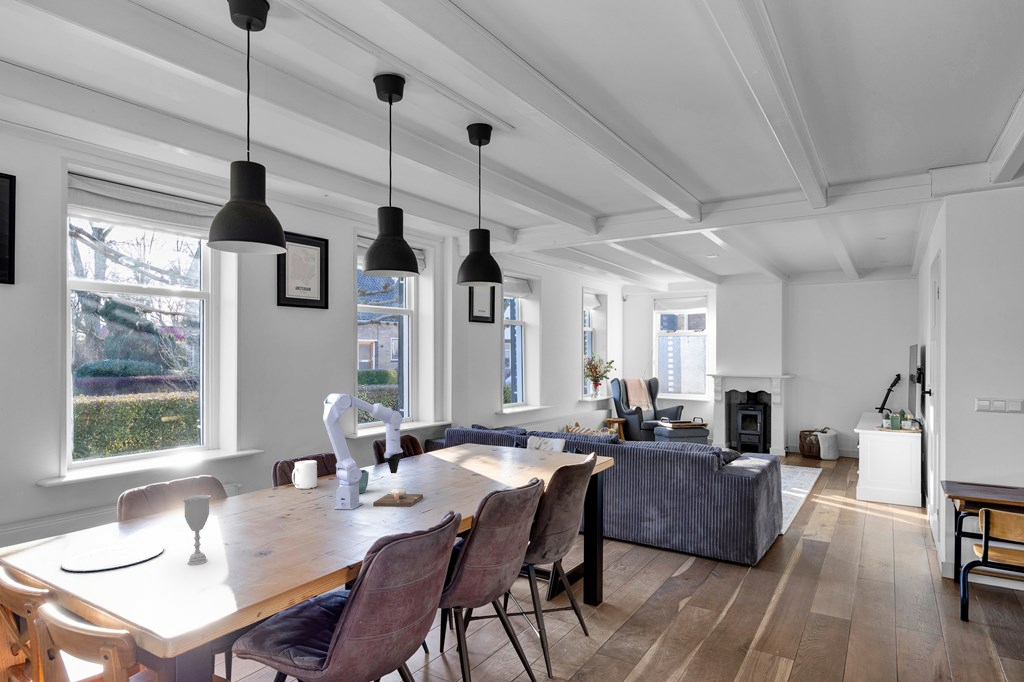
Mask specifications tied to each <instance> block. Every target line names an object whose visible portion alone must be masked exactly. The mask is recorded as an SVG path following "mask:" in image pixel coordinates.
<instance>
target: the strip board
mask: <svg viewBox="0 0 1024 682" xmlns="http://www.w3.org/2000/svg"><path fill="white" fill-rule="evenodd" d="M423 498H424V494H422V493H421V494H420V493H418V494H417V493H406V495H402V496H399V499H398V500H394V496H392V495H391V493H387V494H386V495H384V496H382V497H380V498H378V499H376V500H375V501H372V507H388V508H389V507H392V508H393V507H398V508H399V507H402V508H403V507H404V508H410V507H413V506H414V505H415V504H417V503H418V502H419V501H421V500H422V499H423Z"/></svg>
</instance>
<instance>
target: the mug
mask: <svg viewBox="0 0 1024 682" xmlns="http://www.w3.org/2000/svg"><path fill="white" fill-rule="evenodd" d="M317 464H318V461H317V460H312V459H310V460H308V459H307V460H300V461H295V462H294V469H293V470H292V473H291V481H292V484H293V485H294V486H295V487H296V488H310V487H315V486H318V470H317V469H318V468H317V467H318V465H317ZM296 488H295V489H296Z"/></svg>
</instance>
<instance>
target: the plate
mask: <svg viewBox="0 0 1024 682" xmlns="http://www.w3.org/2000/svg"><path fill="white" fill-rule="evenodd" d="M121 547H143V548H148V549H150V550H152V552H151V553H150V554H149V555H148V556H145V557H143V558H141V559H138V560H135V561H131V562H126V563H123V564H122V563H121V564H118V565H112V566H105V567H97V568H95V567H94V568H80V569H78V568H79V567H77V568H74V567H71V565H70V564H71V562H72V561H73V560H75V559H77V558H79V557H81V556H83V555H87V554H90V553H93V552H97V551H102V550H106V549H111V548H121ZM148 549H147V550H148ZM164 549H165V548H164V546H163V545H161V544H158V543H151V542H134V543H125V544H117V545H111V546H110V545H109V546H105V547H100V548H96V549H92V550H88V551H85V552H82V553H80V554H76V555H73V556H71V557H69V558H67V559H65V560H64V561H63V562H62V563H61V565H60V566H61V569H63V570H65V571H67V572H73V573H74V572H75V573H77V572H79V573H81V572H82V573H85V572H90V573H91V572H98V571H99V572H100V571H106V570H113V569H114V570H115V569H119V568H124V567H129V566H132V565H135V564H140V563H143V562H146V561H149V560H151V559H153V558H156V557H157V556H160V554H162V553H163V552H164ZM150 550H149V551H150Z"/></svg>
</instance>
